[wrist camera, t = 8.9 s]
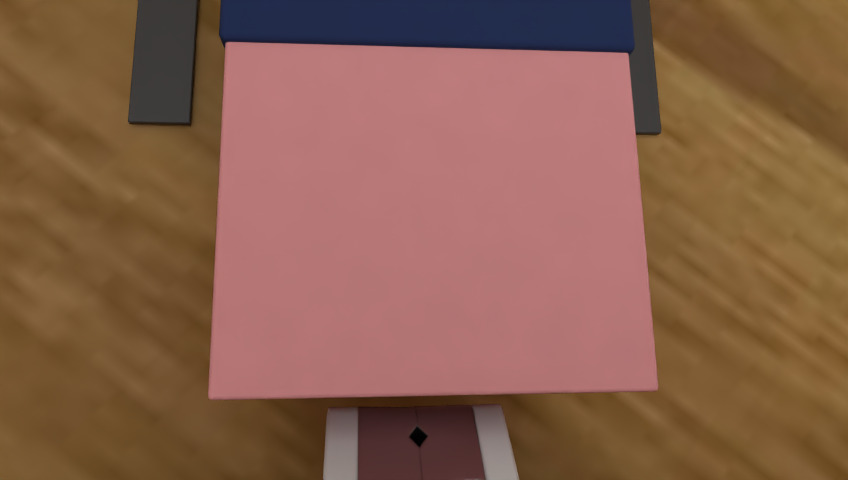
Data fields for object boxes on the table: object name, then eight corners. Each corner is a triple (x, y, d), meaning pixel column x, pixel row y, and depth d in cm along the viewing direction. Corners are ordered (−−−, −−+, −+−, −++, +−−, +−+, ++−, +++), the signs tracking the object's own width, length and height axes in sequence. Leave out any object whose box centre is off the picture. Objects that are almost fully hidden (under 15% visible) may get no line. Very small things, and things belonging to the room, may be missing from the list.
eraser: (530, 388, 16) (669, 391, 9) (275, 393, 16) (198, 400, 8) (507, -77, 19) (599, -369, 12) (289, -87, 19) (240, -400, 11)
